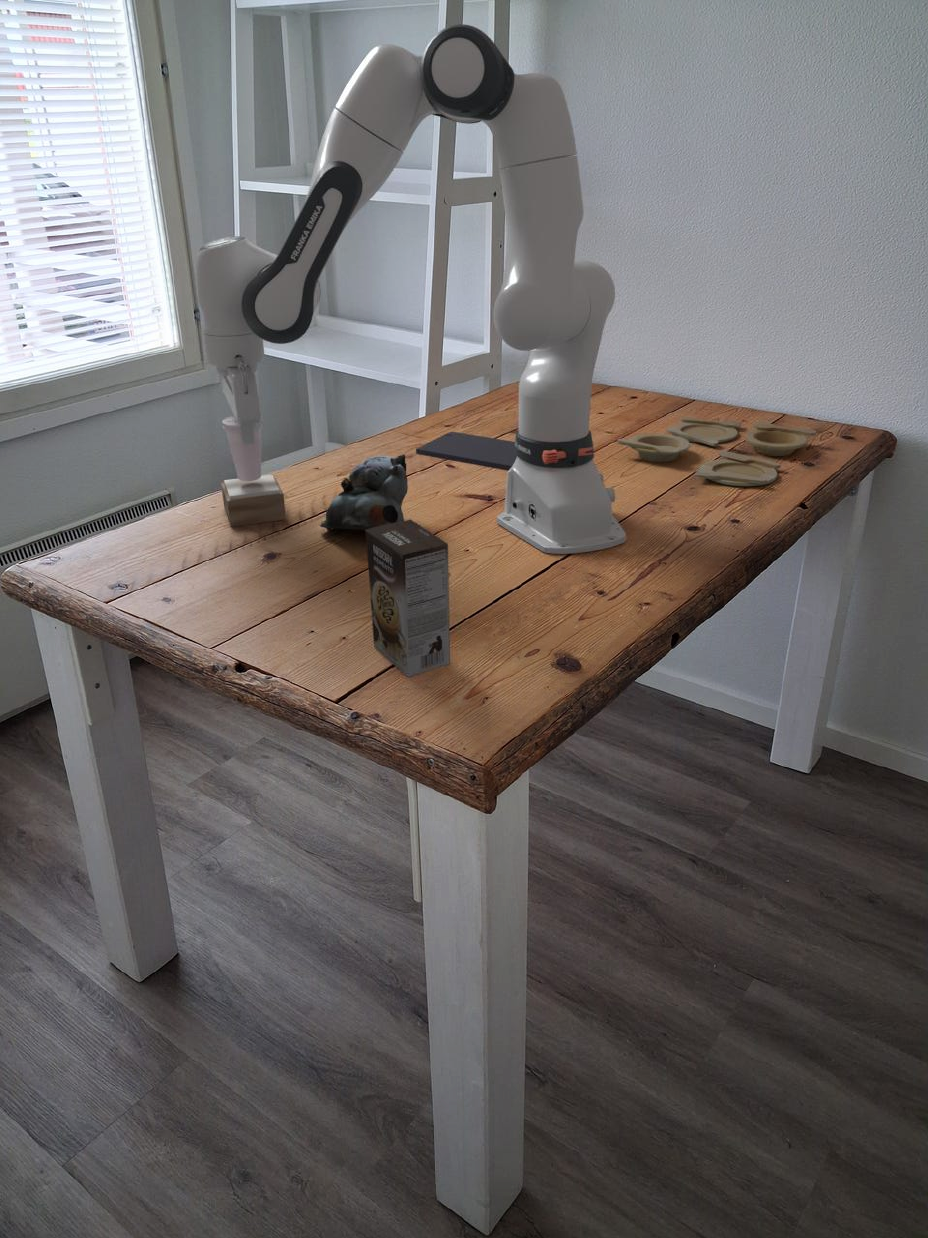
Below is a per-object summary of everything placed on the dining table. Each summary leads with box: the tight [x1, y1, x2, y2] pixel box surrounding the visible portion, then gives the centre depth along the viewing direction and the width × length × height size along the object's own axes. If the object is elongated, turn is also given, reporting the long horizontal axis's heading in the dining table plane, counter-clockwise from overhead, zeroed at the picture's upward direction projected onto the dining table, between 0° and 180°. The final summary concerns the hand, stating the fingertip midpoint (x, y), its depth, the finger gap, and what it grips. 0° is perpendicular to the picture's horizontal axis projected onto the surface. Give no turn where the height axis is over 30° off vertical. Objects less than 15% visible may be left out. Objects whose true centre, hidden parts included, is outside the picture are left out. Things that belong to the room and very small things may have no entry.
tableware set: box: [617, 416, 817, 487], centre depth 189 cm, size 35×29×4 cm
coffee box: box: [364, 519, 451, 678], centre depth 120 cm, size 9×6×16 cm
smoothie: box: [222, 415, 264, 481], centre depth 161 cm, size 6×6×14 cm
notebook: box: [415, 431, 517, 472], centre depth 193 cm, size 13×2×21 cm
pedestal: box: [220, 474, 287, 528], centre depth 166 cm, size 9×9×5 cm
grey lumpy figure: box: [319, 454, 409, 531], centre depth 158 cm, size 15×12×14 cm
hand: (245, 436), depth 161 cm, fingers closed on smoothie, 6 cm apart
